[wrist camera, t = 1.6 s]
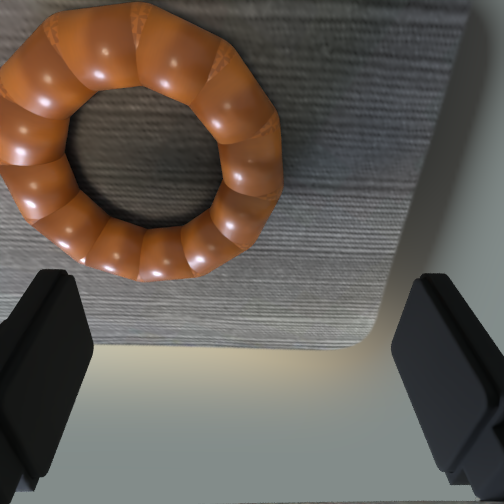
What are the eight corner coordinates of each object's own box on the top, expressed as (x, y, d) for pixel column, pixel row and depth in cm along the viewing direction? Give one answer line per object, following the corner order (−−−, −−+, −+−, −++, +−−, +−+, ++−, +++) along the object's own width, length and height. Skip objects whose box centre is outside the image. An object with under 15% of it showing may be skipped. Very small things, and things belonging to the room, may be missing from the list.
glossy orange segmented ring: (151, -81, 14) (133, -91, 12) (327, 180, 20) (338, 207, 18) (-46, 128, 18) (-87, 151, 16) (149, 291, 24) (140, 325, 22)
